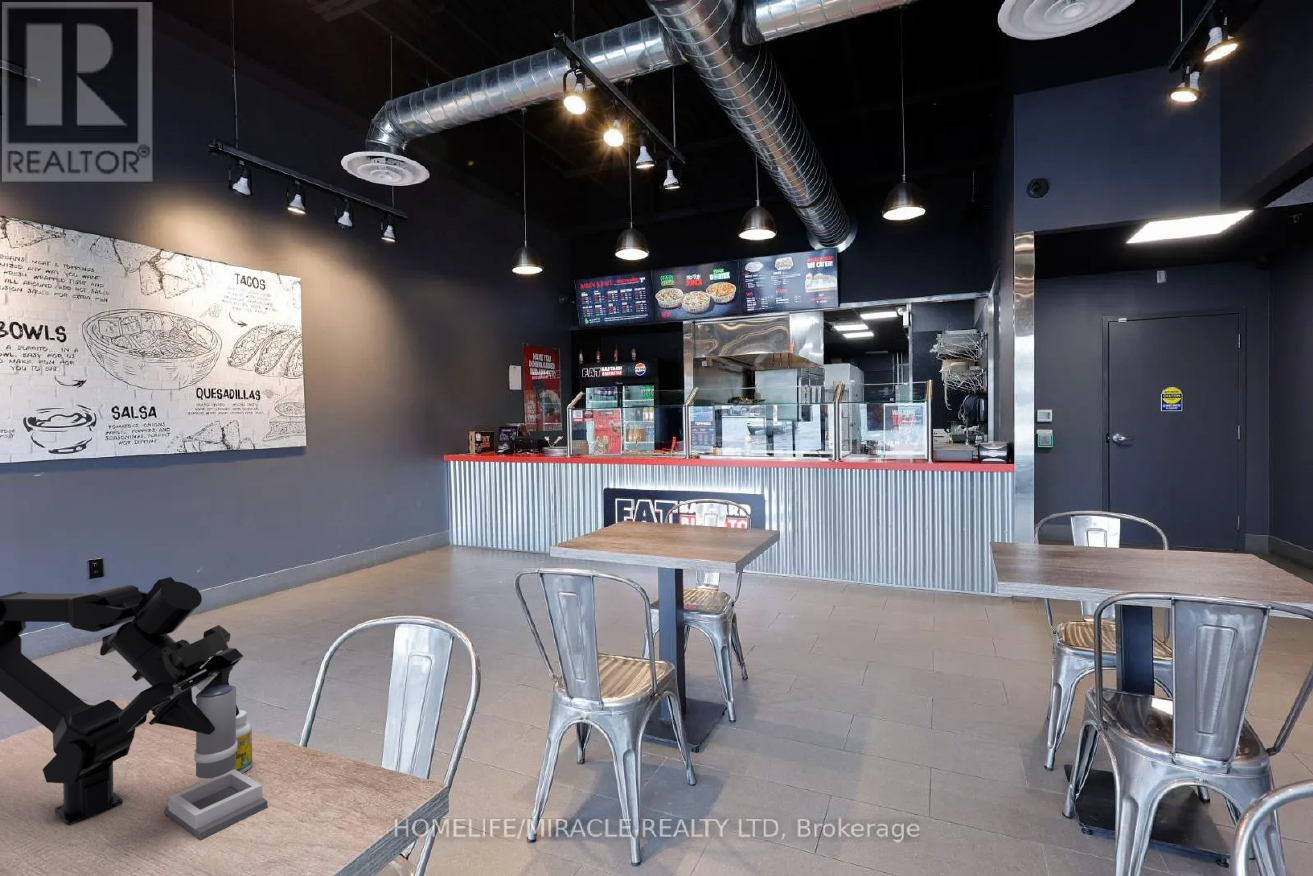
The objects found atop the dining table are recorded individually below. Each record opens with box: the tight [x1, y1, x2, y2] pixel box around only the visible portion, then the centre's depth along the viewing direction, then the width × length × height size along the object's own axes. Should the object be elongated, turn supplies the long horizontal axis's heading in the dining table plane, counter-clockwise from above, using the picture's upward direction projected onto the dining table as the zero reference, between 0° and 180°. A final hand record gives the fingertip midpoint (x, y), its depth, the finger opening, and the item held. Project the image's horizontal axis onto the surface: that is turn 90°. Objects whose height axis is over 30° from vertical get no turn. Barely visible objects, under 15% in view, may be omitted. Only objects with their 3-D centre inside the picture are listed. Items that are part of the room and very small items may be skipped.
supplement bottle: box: [232, 709, 253, 774], centre depth 106 cm, size 5×5×10 cm
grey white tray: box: [164, 769, 268, 841], centre depth 94 cm, size 12×9×3 cm
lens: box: [193, 684, 237, 779], centre depth 94 cm, size 5×5×12 cm
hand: (225, 723), depth 94 cm, fingers closed on lens, 5 cm apart
